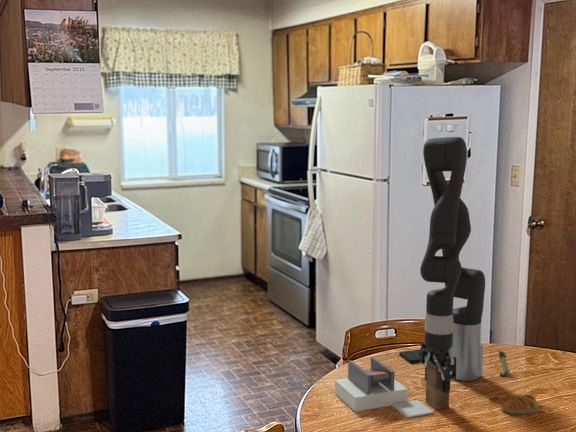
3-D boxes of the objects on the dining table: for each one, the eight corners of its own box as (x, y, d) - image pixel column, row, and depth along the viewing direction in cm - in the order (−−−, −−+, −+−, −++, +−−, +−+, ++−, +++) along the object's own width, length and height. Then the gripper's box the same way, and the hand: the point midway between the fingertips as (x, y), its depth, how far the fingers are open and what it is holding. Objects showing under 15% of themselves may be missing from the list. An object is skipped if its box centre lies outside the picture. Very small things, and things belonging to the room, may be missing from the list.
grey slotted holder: (384, 385, 203) (385, 354, 201) (407, 402, 191) (408, 370, 189) (334, 393, 197) (335, 361, 196) (355, 411, 185) (355, 378, 184)
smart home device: (398, 351, 228) (451, 345, 234) (398, 356, 228) (451, 349, 234) (410, 360, 220) (465, 353, 226) (410, 365, 220) (464, 358, 226)
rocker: (369, 373, 199) (368, 368, 199) (389, 377, 188) (388, 372, 188) (353, 376, 198) (353, 371, 198) (372, 380, 186) (372, 375, 186)
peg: (439, 400, 192) (440, 358, 191) (448, 406, 188) (450, 364, 186) (425, 402, 191) (426, 361, 189) (434, 409, 187) (435, 366, 185)
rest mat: (417, 401, 191) (417, 400, 191) (433, 413, 184) (433, 411, 184) (392, 406, 188) (392, 404, 188) (407, 418, 181) (407, 416, 181)
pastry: (512, 418, 181) (512, 404, 181) (495, 408, 188) (496, 395, 187) (541, 412, 185) (541, 399, 184) (523, 403, 191) (524, 390, 190)
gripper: (466, 335, 181) (463, 394, 183) (436, 320, 194) (434, 375, 197) (441, 338, 178) (439, 398, 181) (413, 323, 192) (411, 379, 194)
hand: (436, 386), depth 189 cm, fingers open, 8 cm apart
